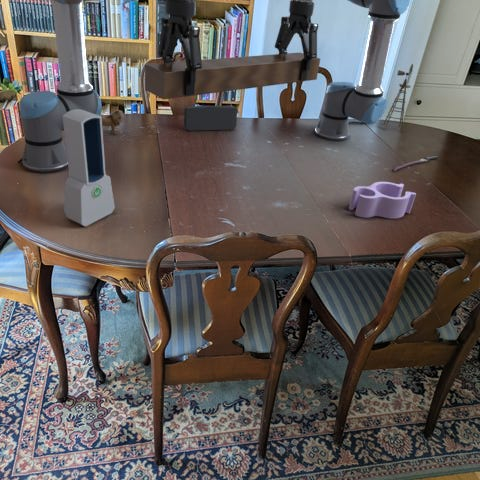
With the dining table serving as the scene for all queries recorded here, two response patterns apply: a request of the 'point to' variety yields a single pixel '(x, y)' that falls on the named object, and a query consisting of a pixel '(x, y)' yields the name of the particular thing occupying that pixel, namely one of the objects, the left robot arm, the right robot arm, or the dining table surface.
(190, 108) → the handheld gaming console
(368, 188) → the clip
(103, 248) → the dining table surface
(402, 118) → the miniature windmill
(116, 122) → the lion figurine
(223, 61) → the wide beam
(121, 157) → the dining table surface
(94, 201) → the electronic device
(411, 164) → the sword
